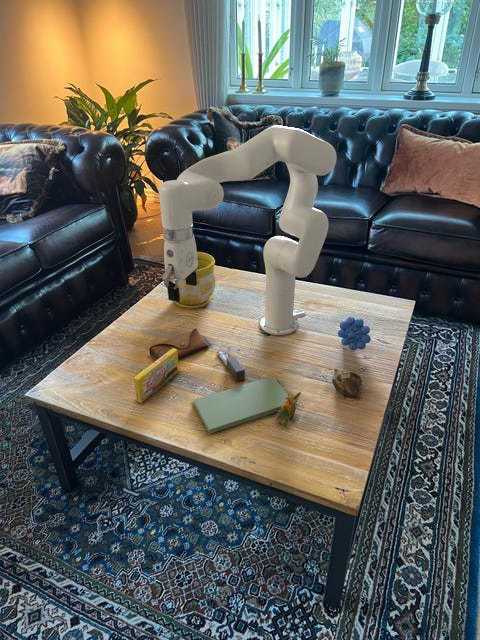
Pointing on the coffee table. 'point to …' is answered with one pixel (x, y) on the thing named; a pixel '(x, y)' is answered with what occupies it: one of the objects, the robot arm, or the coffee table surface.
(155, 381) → the candy box
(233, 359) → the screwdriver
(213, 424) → the sage board
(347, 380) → the fossilized seashell
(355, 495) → the coffee table surface
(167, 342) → the sunglasses case
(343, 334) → the blue flower shape
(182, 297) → the flowerpot
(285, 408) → the figurine
